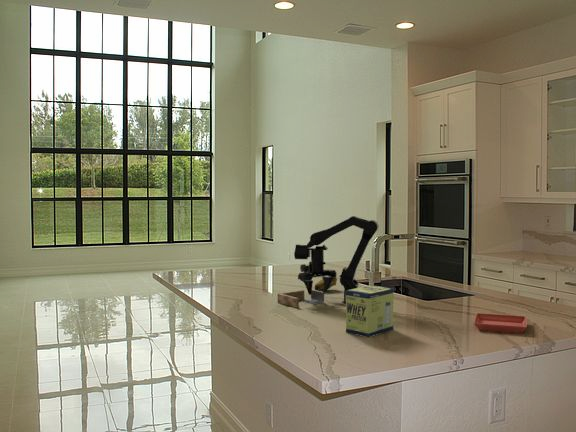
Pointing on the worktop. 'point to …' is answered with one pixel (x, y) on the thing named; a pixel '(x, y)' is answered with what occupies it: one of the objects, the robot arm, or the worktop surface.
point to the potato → (320, 284)
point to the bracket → (315, 297)
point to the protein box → (369, 310)
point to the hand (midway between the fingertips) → (317, 293)
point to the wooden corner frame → (291, 298)
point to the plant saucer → (500, 322)
